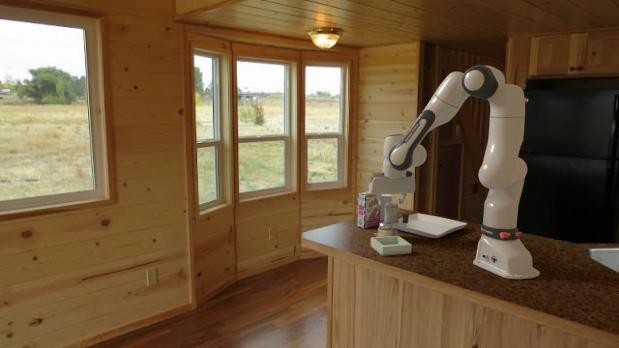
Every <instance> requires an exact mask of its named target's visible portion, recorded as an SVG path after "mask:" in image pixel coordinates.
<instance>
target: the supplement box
mask: <svg viewBox="0 0 619 348" xmlns="http://www.w3.org/2000/svg"><path fill="white" fill-rule="evenodd" d="M392 198H393V196H392V194H382V196H381V200H383V201H384V202H383V203H384V204H381V211H380V221H384V216H385V206H386V203H388V202H393V200H392Z"/></svg>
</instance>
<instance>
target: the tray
mask: <svg viewBox="0 0 619 348" xmlns="http://www.w3.org/2000/svg"><path fill="white" fill-rule="evenodd" d="M370 246H371V248H372V249H374V250H375V251H376V252H377V253H379V255H380V256H382V257H386V256H387V257H388V256H396V255H407V254H412V244H411V243H410V242H408V241H407V240H406V239H404V238H402V237H401V236H400V235H398V236H385V237H376V236H374V237H370Z"/></svg>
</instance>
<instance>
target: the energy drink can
mask: <svg viewBox="0 0 619 348" xmlns="http://www.w3.org/2000/svg"><path fill="white" fill-rule="evenodd" d="M398 203H399V202H398ZM398 203H397V202H393V201H392V202H388V203H386V206H385V216H384V220H383V222H389V223H390V222H398V221H399V218H400V217H399V216H400V215H399V214H400V207H399V205H398ZM392 229H393V230H392V236H399V230H398V228H392Z"/></svg>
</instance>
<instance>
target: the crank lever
mask: <svg viewBox="0 0 619 348" xmlns="http://www.w3.org/2000/svg"><path fill="white" fill-rule="evenodd" d="M401 215H402V217H403V222H390V223H389V222H384V221H380V223H379V225H378V228H380V229H383V230H390V229H391V228H406V223H408V220H409V215H410V213H409V212H402V214H401Z"/></svg>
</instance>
